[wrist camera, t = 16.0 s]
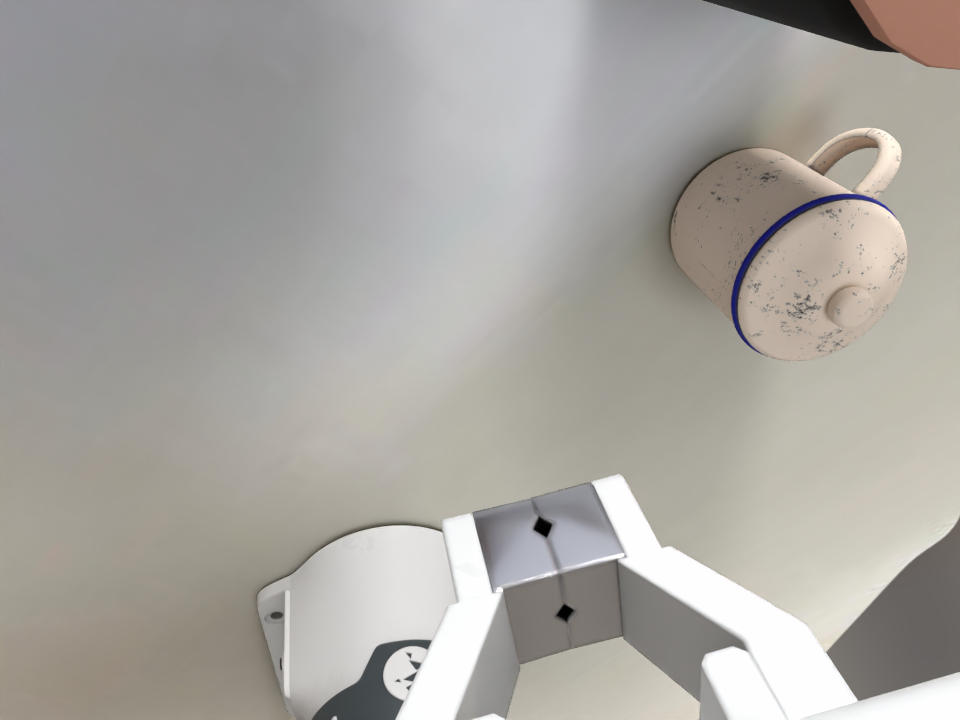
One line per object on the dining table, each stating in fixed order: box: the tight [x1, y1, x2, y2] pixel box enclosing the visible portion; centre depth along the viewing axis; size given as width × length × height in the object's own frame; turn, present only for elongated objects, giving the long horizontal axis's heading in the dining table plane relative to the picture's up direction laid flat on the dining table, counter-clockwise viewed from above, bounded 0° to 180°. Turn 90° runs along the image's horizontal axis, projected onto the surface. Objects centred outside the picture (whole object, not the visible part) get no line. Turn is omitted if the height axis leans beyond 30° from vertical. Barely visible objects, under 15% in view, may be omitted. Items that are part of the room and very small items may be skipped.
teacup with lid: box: [671, 128, 907, 361], centre depth 38 cm, size 12×9×12 cm
